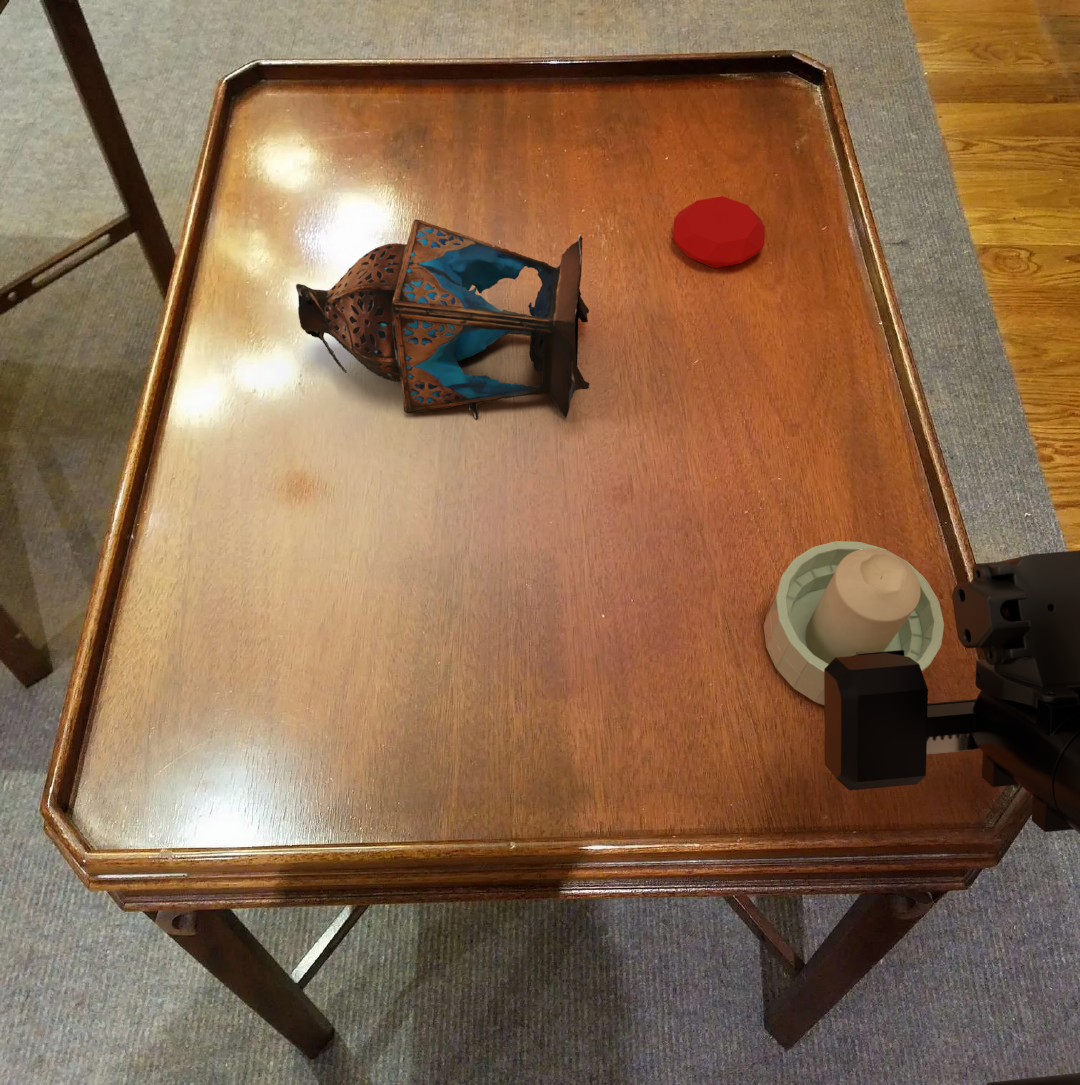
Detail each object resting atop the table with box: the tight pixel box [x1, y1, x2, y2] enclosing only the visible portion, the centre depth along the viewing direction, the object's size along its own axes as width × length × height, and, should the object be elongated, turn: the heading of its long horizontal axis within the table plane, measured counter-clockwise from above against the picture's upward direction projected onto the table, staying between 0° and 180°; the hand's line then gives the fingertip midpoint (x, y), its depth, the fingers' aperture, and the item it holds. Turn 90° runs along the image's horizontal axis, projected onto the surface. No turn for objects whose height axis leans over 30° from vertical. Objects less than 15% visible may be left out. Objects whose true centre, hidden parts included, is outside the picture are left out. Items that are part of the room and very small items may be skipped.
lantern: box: [295, 218, 590, 420], centre depth 78 cm, size 16×16×25 cm
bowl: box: [763, 540, 945, 706], centre depth 66 cm, size 11×11×5 cm
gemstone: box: [671, 195, 766, 269], centre depth 90 cm, size 9×9×3 cm
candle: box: [806, 548, 921, 664], centre depth 63 cm, size 6×6×10 cm
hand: (936, 652), depth 53 cm, fingers open, 9 cm apart
